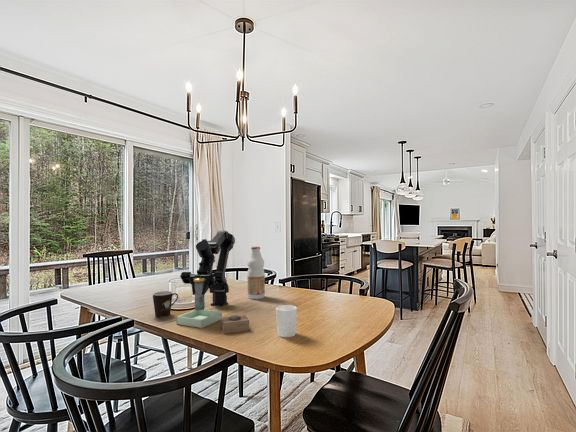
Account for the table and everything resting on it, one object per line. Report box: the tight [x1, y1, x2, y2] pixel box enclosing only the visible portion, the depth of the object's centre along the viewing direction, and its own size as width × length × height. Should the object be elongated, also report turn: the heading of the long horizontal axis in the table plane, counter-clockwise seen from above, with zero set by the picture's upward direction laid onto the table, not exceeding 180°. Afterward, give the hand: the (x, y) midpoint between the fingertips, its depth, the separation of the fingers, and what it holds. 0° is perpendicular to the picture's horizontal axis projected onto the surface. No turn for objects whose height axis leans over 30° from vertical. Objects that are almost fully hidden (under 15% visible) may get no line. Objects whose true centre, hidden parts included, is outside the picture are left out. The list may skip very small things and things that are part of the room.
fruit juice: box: [247, 246, 266, 300], centre depth 183 cm, size 9×9×28 cm
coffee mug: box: [152, 290, 179, 318], centre depth 152 cm, size 12×9×10 cm
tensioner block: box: [220, 314, 250, 334], centre depth 131 cm, size 7×10×5 cm
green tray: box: [176, 309, 223, 329], centre depth 141 cm, size 13×13×3 cm
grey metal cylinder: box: [193, 278, 206, 310], centre depth 141 cm, size 5×5×13 cm
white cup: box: [275, 304, 298, 338], centre depth 124 cm, size 8×8×10 cm
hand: (198, 294), depth 140 cm, fingers closed on grey metal cylinder, 4 cm apart
